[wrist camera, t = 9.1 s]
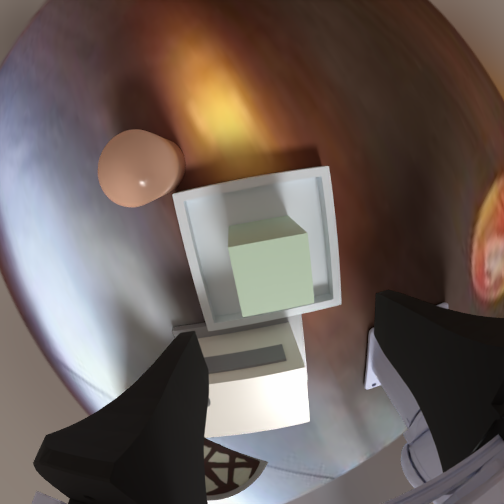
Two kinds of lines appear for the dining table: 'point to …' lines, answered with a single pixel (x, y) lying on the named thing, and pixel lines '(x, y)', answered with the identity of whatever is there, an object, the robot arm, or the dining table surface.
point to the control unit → (254, 376)
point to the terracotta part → (139, 167)
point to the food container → (228, 470)
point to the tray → (248, 210)
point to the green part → (270, 265)
